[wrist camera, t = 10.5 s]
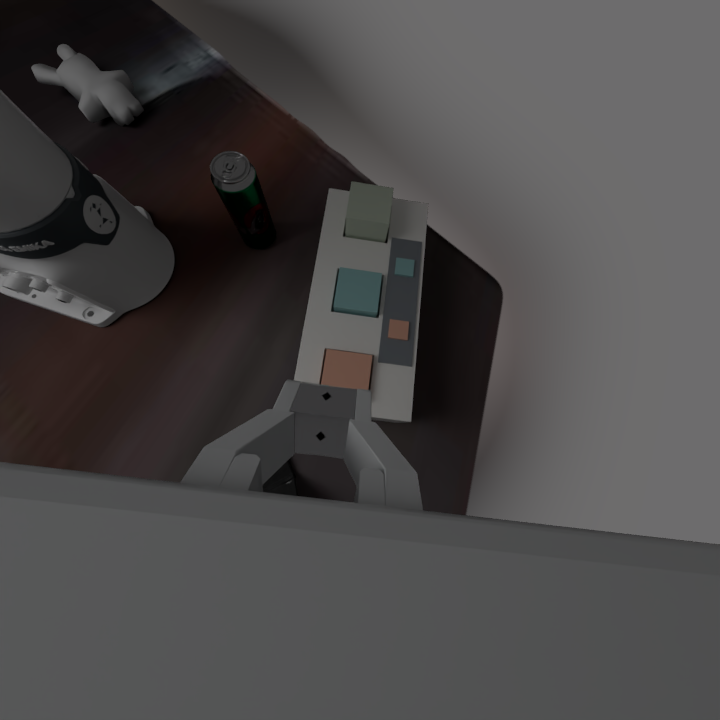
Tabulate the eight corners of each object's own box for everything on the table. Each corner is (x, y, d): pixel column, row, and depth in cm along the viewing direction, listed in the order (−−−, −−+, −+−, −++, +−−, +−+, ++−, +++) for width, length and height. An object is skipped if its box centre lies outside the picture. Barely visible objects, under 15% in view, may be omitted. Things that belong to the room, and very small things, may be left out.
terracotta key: (322, 398, 33) (319, 394, 29) (328, 358, 35) (326, 348, 30) (363, 404, 34) (366, 401, 29) (368, 364, 35) (372, 355, 30)
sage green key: (345, 242, 36) (345, 217, 32) (350, 210, 37) (351, 181, 33) (383, 248, 36) (389, 223, 32) (387, 215, 37) (393, 188, 33)
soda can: (280, 226, 43) (258, 153, 32) (272, 254, 42) (245, 189, 30) (248, 219, 43) (214, 143, 32) (239, 247, 42) (199, 179, 30)
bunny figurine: (101, 116, 41) (8, 57, 41) (123, 148, 46) (41, 95, 45) (144, 78, 43) (57, 21, 43) (161, 112, 48) (84, 61, 48)
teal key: (334, 321, 36) (333, 306, 31) (339, 285, 37) (339, 266, 33) (373, 326, 36) (377, 312, 32) (377, 291, 37) (382, 273, 33)
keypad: (300, 410, 37) (288, 405, 29) (331, 230, 44) (328, 184, 35) (396, 422, 38) (412, 421, 29) (413, 242, 44) (429, 200, 36)
